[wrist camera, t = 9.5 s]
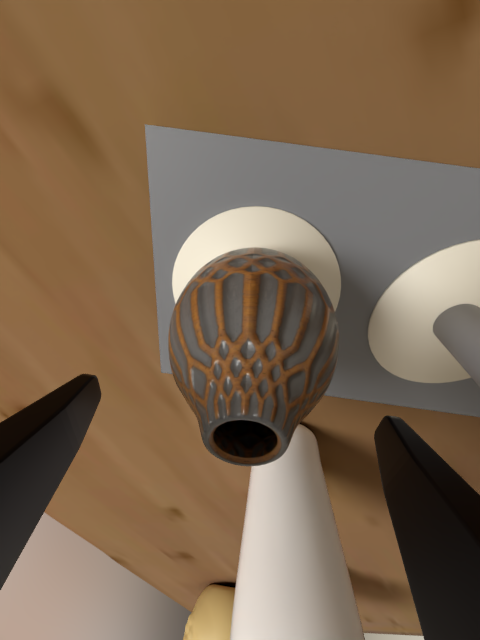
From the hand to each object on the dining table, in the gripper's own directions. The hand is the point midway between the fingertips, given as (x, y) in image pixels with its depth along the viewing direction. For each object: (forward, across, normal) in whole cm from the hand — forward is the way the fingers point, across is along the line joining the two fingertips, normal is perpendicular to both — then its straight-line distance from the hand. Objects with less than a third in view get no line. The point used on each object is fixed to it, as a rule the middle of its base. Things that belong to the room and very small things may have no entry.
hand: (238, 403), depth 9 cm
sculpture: (+9, -4, +59) cm, 60 cm away
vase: (+8, 0, 0) cm, 8 cm away
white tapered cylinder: (+9, -5, +14) cm, 17 cm away
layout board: (+9, -6, 0) cm, 10 cm away
